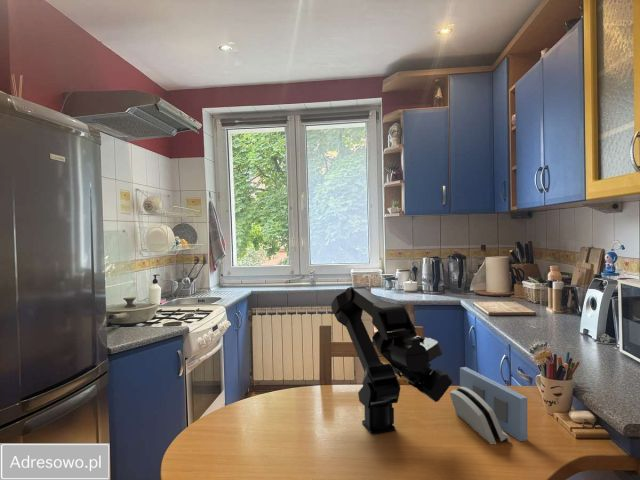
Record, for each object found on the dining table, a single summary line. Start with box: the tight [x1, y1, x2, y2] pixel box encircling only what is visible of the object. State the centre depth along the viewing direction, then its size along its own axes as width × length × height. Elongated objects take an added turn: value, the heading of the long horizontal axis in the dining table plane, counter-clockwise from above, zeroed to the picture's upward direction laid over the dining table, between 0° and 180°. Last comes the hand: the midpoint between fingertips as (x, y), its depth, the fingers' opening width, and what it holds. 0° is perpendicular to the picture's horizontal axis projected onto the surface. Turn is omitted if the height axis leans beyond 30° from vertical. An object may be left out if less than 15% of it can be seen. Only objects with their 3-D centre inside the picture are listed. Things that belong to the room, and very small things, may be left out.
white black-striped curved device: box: [449, 386, 511, 445], centre depth 98 cm, size 17×5×10 cm, turn 9°
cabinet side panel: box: [459, 366, 528, 442], centre depth 102 cm, size 2×22×10 cm, turn 17°
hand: (440, 395), depth 97 cm, fingers closed
